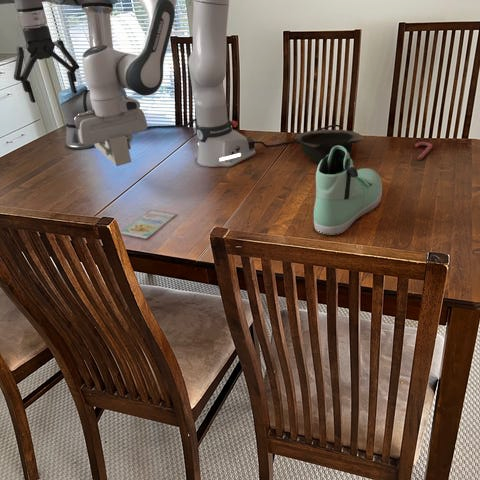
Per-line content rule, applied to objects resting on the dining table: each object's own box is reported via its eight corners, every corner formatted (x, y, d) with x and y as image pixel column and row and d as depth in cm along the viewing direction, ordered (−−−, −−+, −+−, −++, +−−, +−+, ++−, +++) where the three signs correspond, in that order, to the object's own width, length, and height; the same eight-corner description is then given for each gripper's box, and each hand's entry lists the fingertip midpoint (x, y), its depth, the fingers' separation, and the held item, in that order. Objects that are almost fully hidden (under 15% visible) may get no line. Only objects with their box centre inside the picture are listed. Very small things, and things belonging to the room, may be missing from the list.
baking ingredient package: (120, 232, 135) (151, 209, 146) (120, 233, 135) (151, 210, 146) (145, 237, 131) (175, 214, 143) (146, 239, 131) (175, 215, 143)
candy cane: (403, 158, 167) (404, 154, 167) (417, 144, 177) (418, 140, 177) (421, 161, 164) (421, 157, 163) (434, 146, 174) (435, 142, 173)
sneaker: (389, 187, 148) (396, 123, 138) (356, 242, 123) (361, 168, 112) (346, 181, 154) (350, 119, 144) (306, 232, 129) (307, 161, 118)
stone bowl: (320, 174, 160) (319, 147, 155) (281, 157, 180) (279, 132, 176) (378, 156, 168) (378, 130, 164) (334, 141, 189) (333, 118, 184)
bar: (94, 146, 161) (88, 122, 156) (108, 142, 163) (102, 118, 158) (116, 166, 144) (110, 139, 140) (131, 162, 146) (125, 135, 142)
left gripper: (-5, 33, 136) (18, 108, 147) (79, 21, 148) (94, 90, 159) (-12, 31, 141) (11, 103, 152) (70, 19, 153) (86, 87, 164)
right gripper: (75, 117, 132) (87, 163, 139) (144, 101, 140) (153, 146, 148) (69, 112, 137) (82, 157, 144) (136, 97, 145) (145, 140, 152)
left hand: (54, 97), depth 155 cm, fingers open, 13 cm apart
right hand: (118, 151), depth 146 cm, fingers closed on bar, 5 cm apart
